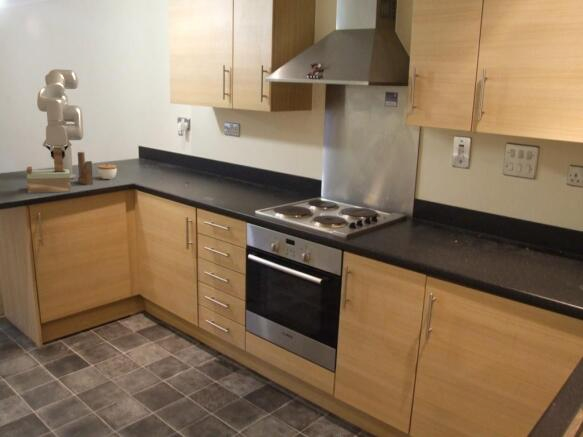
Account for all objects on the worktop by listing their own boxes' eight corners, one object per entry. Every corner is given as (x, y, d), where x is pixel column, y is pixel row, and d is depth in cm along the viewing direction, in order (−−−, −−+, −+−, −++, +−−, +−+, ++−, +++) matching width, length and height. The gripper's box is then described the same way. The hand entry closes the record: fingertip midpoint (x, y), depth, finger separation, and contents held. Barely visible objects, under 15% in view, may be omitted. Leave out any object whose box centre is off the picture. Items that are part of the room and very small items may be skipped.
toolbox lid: (28, 174, 279) (27, 166, 278) (69, 173, 287) (68, 165, 285) (27, 179, 268) (26, 170, 267) (69, 177, 276) (69, 169, 275)
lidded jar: (102, 181, 311) (101, 165, 308) (95, 178, 318) (94, 162, 316) (120, 179, 318) (119, 163, 315) (112, 176, 325) (112, 161, 323)
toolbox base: (29, 189, 281) (28, 174, 279) (70, 188, 289) (69, 173, 287) (28, 194, 270) (27, 179, 268) (70, 192, 278) (69, 177, 276)
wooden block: (87, 186, 294) (85, 154, 289) (77, 183, 301) (76, 152, 296) (93, 186, 297) (91, 154, 292) (84, 182, 304) (82, 151, 299)
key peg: (55, 177, 281) (53, 147, 277) (63, 177, 283) (61, 147, 278) (55, 179, 278) (53, 148, 273) (63, 179, 279) (61, 148, 275)
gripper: (73, 122, 279) (75, 157, 284) (37, 122, 272) (40, 157, 277) (73, 124, 272) (75, 159, 277) (37, 124, 266) (40, 160, 271)
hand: (58, 158), depth 277 cm, fingers closed on key peg, 4 cm apart
